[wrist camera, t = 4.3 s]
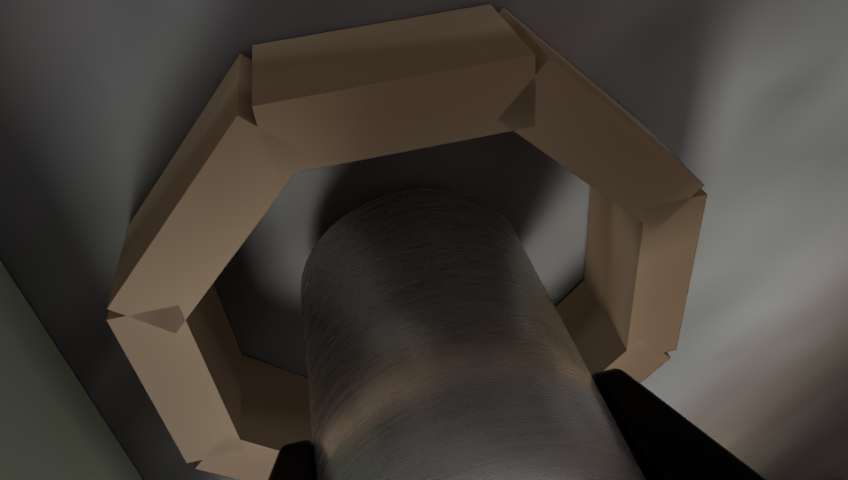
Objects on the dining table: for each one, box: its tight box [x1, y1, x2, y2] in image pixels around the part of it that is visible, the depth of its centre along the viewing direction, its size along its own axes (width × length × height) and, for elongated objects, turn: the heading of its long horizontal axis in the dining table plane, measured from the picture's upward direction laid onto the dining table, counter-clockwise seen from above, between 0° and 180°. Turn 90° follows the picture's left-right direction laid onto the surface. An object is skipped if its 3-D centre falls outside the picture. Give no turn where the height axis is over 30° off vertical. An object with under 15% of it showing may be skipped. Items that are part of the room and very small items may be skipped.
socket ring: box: [107, 4, 707, 480], centre depth 12 cm, size 9×9×2 cm
